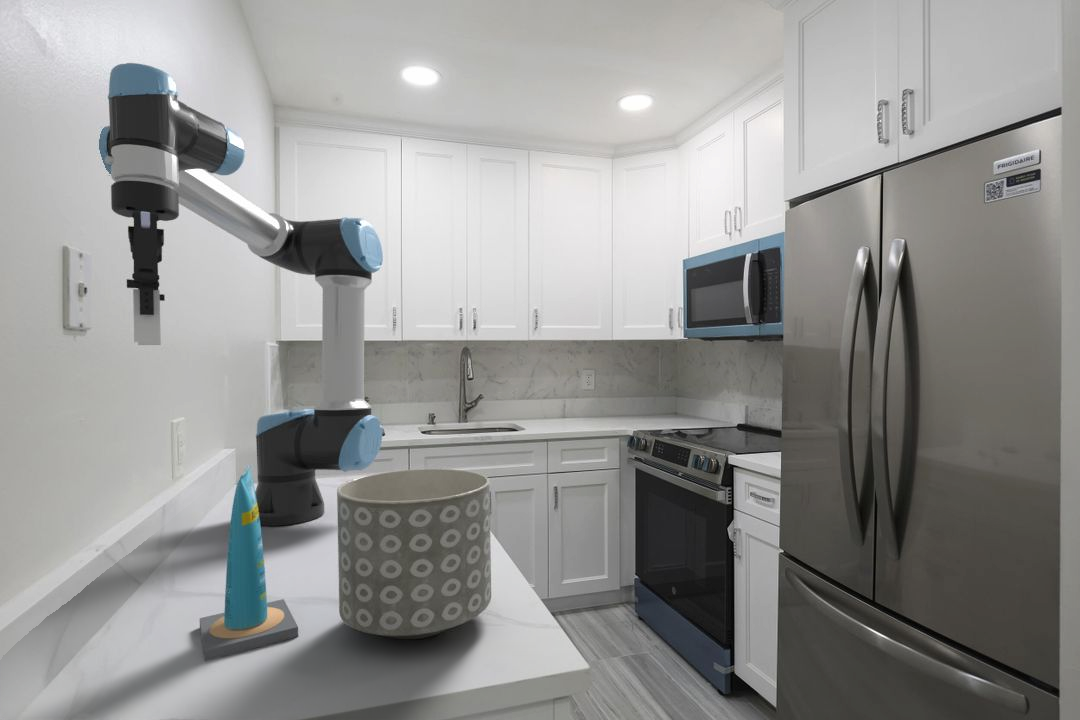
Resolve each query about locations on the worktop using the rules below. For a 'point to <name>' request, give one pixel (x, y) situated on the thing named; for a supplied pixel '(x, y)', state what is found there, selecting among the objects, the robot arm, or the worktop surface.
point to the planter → (413, 551)
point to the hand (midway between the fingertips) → (148, 343)
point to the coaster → (246, 632)
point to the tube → (245, 561)
